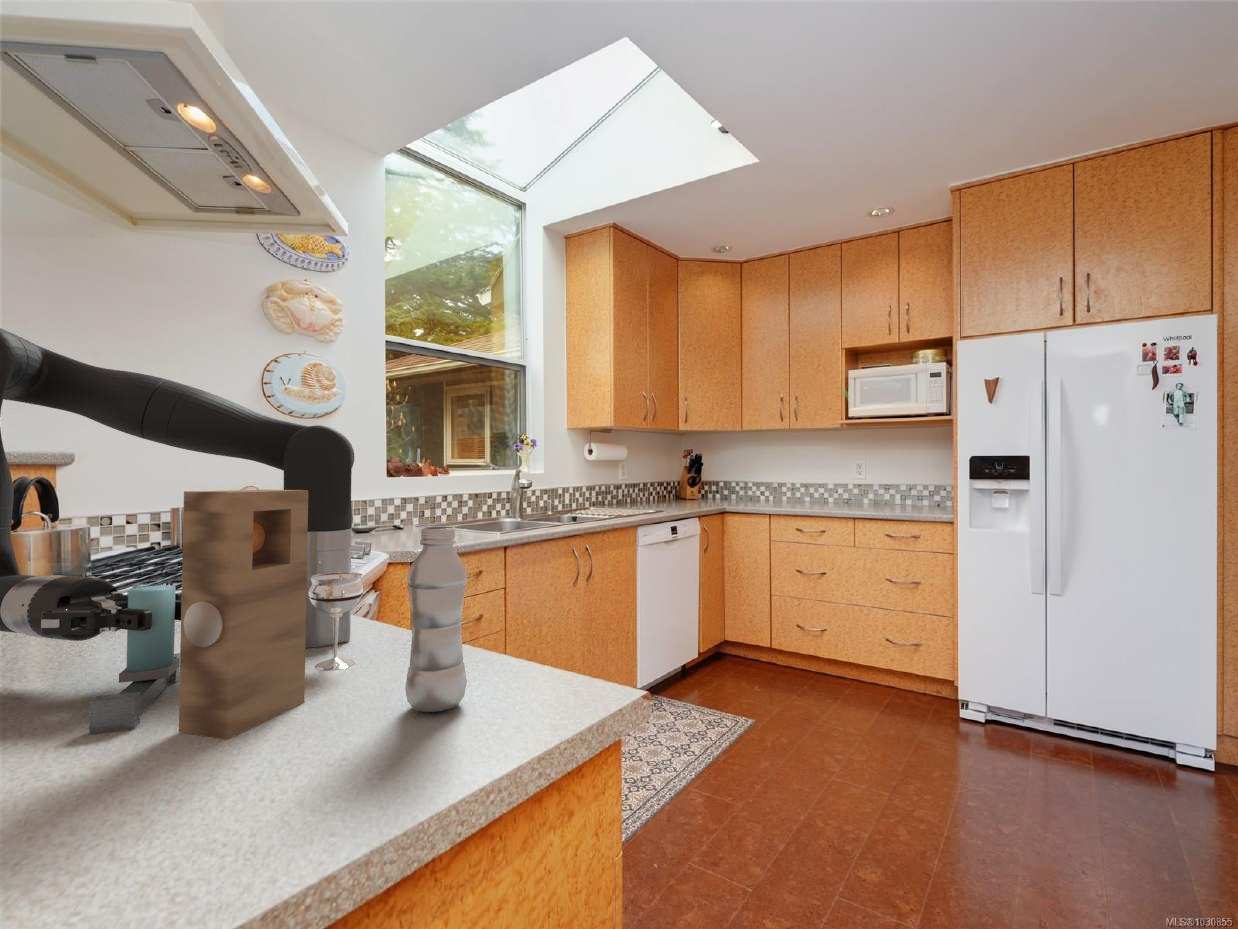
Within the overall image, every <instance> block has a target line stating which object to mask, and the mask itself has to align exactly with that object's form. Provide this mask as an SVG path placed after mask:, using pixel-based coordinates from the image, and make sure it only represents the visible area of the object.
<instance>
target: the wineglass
mask: <svg viewBox="0 0 1238 929" xmlns="http://www.w3.org/2000/svg"><path fill="white" fill-rule="evenodd" d="M362 577H363V573H362V572H356V571H351V572H333V573H323V574H317V575H313V576H310V580H311V582H312V585H311V587H310V589H309V599H310V601H311V604H312V605H313V606H314V607H316V608H317V609H318V610H319V611H321V612H324V613H326V614H329V616H330V617H331V618H333V644H332V646H333V647H332V649H333V650H332V652H333V657H332V658H329V659H327V660H323V661H321V662H318V663H317V664H315V665H314V668H315V669H316V670H319V671H335V670H341V669H346V668H348V667H349V668H350V667H352V666H353V665H354V664H355V663H356V661H355V660H353V659H349V658H344V657H343V658H341V657H338V626H339V617H341V616H342V615H343V614H342V613H344V612H346V611H348V610H350V609H351V610H352V609H353V608H355V606H356V605H357V604H358V603H359V602H360V601H361V599H362V596H363V595H364V592H363V591H364V587H363V583H362V581H361V579H362Z"/></svg>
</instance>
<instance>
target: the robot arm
mask: <svg viewBox="0 0 1238 929" xmlns="http://www.w3.org/2000/svg"><path fill="white" fill-rule="evenodd" d="M5 400H6V401H13V402H19V403H24V404H31V405H35V406H40V407H45V408H51V409H56V410H61V411H65V412H70V413H73V414H76V415H79V416H82V417H84V418H88V420H91V421H94V422H97V423H98V424H102V425H104V426H106V427H108V428H111V429H114V430H117V431H118V432H122V433H124V434H127V435H131V436H134V437H137V438H140V439H144V440H147V441H151V442H154V443H158V444H163V445H166V446H170V447H172V448H178V449H182V450H187V451H190V452H191V451H192V452H197V453H200V454H201V453H203V454H207V455H212V456H213V455H214V456H221V457H227V458H236V459H242V460H247V461H248V460H249V461H252V462H256V463H260V464H262V465H263V464H264V465H266V466H269V467H272V468H275V469H278V470H281V471H282V472H283V490H308V535H307V589H306V642H305V648H317V647H324V646H331V645H333V618H331V617H330V616H329V614H326V613H324V612H321V611H319V610H318V609H317V608H316V607H314V606H313V605H312V604H311V601H310V599H309V589H310V587H311V585H312V582H311V580H310V576H313V575H317V574H323V573H333V572H352V541H353V540H352V533H353V532H352V531H353V530H352V528H353V508H352V469H353V467H354V463H355V451H354V448H353V445H352V443H351V442H350V440H349V439H348V438H347V437H346V436H345V435H344V434H342V432H340V431H339V430H337V429H335V428H333V427H330V426H326V425H320V424H319V425H317V424H316V425H315V424H314V425H305V424H298V423H296V422H290V421H285V420H281V419H277V418H273V417H270V416H269V415H265V414H262V413H259V412H256V411H255V410H252V409H250V408H248V407H246V406H243V405H241V404H239V403H236V402H234V401H231V400H229V399H226V398H224V397H222V396H219V395H217V394H213V393H212V392H209V391H205V390H203V389H200V388H197V387H193V386H191V385H188V384H183V383H180V382H177V381H173V380H171V379H167V378H163V377H160V376H155V375H151V374H145V373H141V372H134V371H133V372H132V371H127V370H119V369H112V368H105V367H100V366H96V365H92V364H88V363H85V362H82V361H79V360H76V359H73V358H71V357H68V356H65V355H63V354H59V353H58V352H55V351H52V350H50V349H47V348H46V347H43V346H40V345H38V344H35V343H34V342H31V341H30V340H27V339H26V338H23V337H21V336H18V335H17V334H15V333H13V332H10V331H8V330H6V329H4V328H1V327H0V416H1V413H2V407H3V401H5ZM13 508H14V483H13V478H12V473H11V469H10V467H9V463H8V460H7V456H6V452H5V448H4V444H3V439H2V431H1V428H0V632H6V633H15V634H22V635H24V636H25V635H26V636H29V637H34V638H43V639H45V638H46V639H53V640H62V641H63V640H64V641H71V642H72V641H73V642H79V641H80V642H81V641H86V640H87V641H88V640H90V639H93V638H96V637H97V636H100V635H101V634H103V633H105V632H106V633H107V632H112V633H113V632H118V631H121V630H136V631H145V630H149V629H151V627H152V612H151V611H150V610H142V609H130V608H128V591H129V590H125V591H124V590H123V591H119V590H118V589H117V588H116V587H115V586H114V585H113V584H112V583H111V582H109V581H108V580H105V579H104V578H99V577H91V576H90V577H88V576H76V575H73V576H72V575H61V574H60V575H59V574H57V575H56V574H55V575H54V574H50V575H49V574H48V575H26V574H23V575H22V574H21V570H20V568H19V565H18V561H17V558H16V554H15V553H16V552H15V549H14V547H13V541H12V537H11V534H12V532H11V531H12V524H13V523H12V521H13V512H14V511H13ZM181 600H182V593H181V594H180V593H177V592H175V621H181ZM351 612H352V609H350V610H348V611H346V612H344V613H342V614H343V615H342V616H341V617H339V626H338V643H344V642H350V640H351V639H350V638H351V626H352V625H351V624H352V623H351V616H352V613H351ZM338 643H337V644H338Z"/></svg>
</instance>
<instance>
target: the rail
mask: <svg viewBox="0 0 1238 929" xmlns="http://www.w3.org/2000/svg"><path fill="white" fill-rule="evenodd" d="M174 658H180V653H174ZM178 681H180V666H179V667H178V668H177V669H176V670H175V671H174V672H173V674H172V675H171V676H170V677H169V678H162V679H152V680H142V681H133V682H130V683H129V684H128V685H127V686H126V687H125V688H124V689H123V690H121V692H120V693H117V694H109V695H99V696H95V698H93V699H92V700H91V701H90V703H89V727H88V728H89V734H88V735H97V734H106V733H114V732H121V731H131V730H135V729H137V727H138V725H140V724H141V716H142V715H143V713H144V712H145V711H146V710H147V709H148V708H149V707H150V706H151V704H153V702H155V700H156V699H158V698H159V696H160V695H162V693H163V692H164V690H166V688H167V687H168V686H170V685H171V684H176V683H177V682H178Z"/></svg>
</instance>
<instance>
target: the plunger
mask: <svg viewBox="0 0 1238 929" xmlns="http://www.w3.org/2000/svg"><path fill="white" fill-rule="evenodd" d="M264 541H265V531H264V529H263V527H262V526H261V525H260V524H258V523H253V553H254V552H256V551H258V550H259V549H260V548H261V547H262V546H263V544H264Z"/></svg>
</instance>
